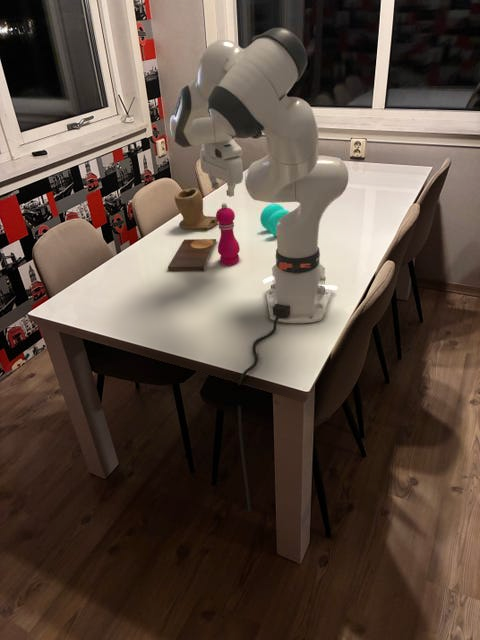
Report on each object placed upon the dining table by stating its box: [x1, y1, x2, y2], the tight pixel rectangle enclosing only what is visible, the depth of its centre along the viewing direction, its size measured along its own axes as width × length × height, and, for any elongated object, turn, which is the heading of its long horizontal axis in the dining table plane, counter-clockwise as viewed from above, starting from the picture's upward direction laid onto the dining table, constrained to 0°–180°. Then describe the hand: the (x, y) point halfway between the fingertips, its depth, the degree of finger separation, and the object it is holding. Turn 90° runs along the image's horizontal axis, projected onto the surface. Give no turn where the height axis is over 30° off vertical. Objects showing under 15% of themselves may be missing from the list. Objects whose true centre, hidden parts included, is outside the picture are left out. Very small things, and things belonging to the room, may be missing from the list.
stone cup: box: [174, 187, 219, 229], centre depth 188 cm, size 15×12×15 cm
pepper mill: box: [215, 202, 241, 266], centre depth 159 cm, size 7×7×20 cm
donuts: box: [259, 203, 290, 237], centre depth 178 cm, size 10×10×10 cm
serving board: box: [167, 238, 218, 272], centre depth 169 cm, size 22×12×2 cm, turn 171°
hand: (222, 192), depth 151 cm, fingers open, 8 cm apart
